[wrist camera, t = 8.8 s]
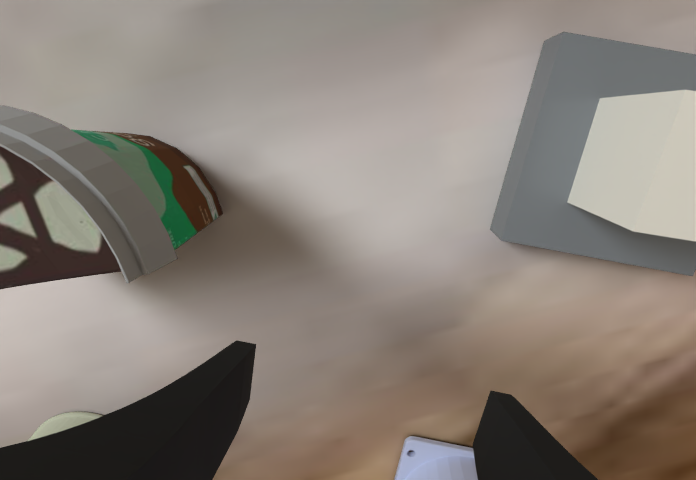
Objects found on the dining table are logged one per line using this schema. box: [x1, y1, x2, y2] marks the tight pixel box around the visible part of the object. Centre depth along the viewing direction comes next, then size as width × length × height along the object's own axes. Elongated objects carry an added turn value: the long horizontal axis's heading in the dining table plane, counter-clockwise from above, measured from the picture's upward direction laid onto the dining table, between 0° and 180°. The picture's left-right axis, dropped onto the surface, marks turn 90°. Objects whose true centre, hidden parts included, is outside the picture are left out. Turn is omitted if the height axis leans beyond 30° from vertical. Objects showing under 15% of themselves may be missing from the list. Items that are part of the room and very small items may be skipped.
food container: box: [0, 105, 223, 289], centre depth 17 cm, size 12×6×10 cm, turn 99°
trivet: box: [490, 32, 696, 276], centre depth 18 cm, size 9×9×2 cm
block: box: [567, 90, 696, 241], centre depth 15 cm, size 4×4×5 cm
